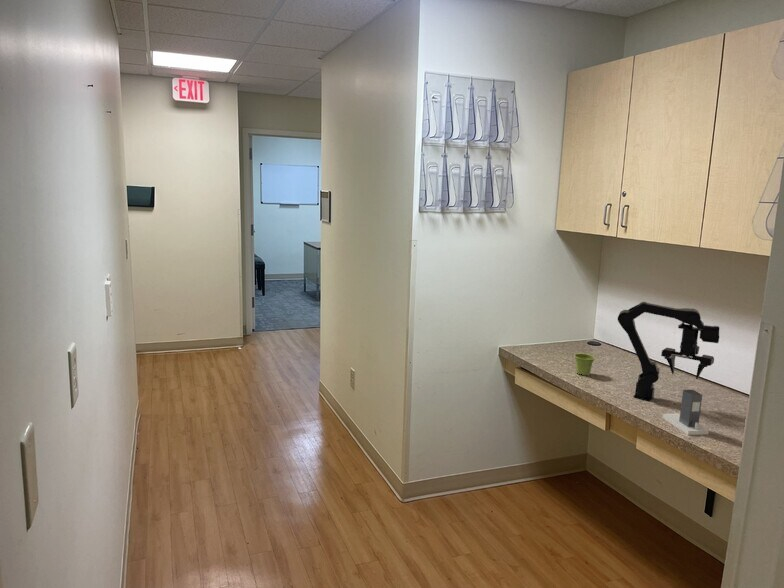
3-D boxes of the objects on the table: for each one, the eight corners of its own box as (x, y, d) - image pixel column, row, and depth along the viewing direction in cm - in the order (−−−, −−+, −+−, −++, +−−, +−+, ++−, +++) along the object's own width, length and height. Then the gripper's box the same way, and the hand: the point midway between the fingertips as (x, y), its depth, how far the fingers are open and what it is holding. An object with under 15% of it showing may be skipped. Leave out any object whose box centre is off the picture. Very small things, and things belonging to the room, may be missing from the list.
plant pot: (585, 370, 281) (587, 353, 279) (597, 376, 272) (598, 358, 271) (568, 371, 279) (570, 353, 277) (579, 377, 270) (581, 359, 268)
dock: (662, 417, 225) (663, 407, 224) (681, 416, 226) (682, 407, 225) (687, 434, 209) (689, 424, 208) (708, 434, 210) (709, 424, 209)
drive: (679, 421, 218) (683, 389, 215) (688, 420, 218) (693, 389, 216) (688, 427, 212) (692, 395, 210) (698, 427, 213) (702, 395, 210)
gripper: (719, 340, 235) (714, 377, 238) (671, 332, 247) (666, 366, 250) (712, 345, 226) (707, 383, 229) (663, 336, 238) (658, 372, 241)
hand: (684, 376), depth 238 cm, fingers open, 9 cm apart
